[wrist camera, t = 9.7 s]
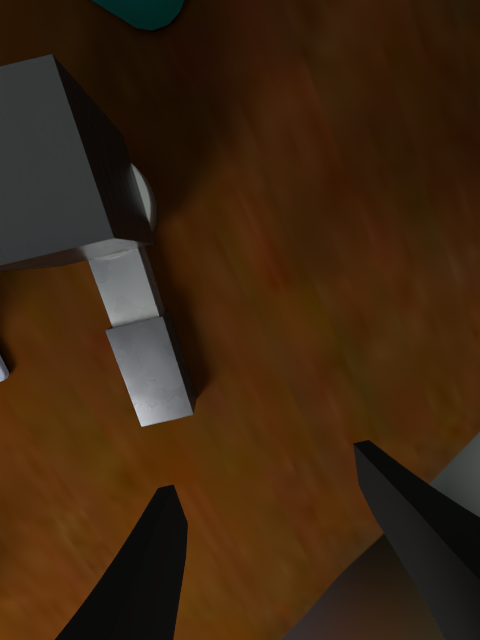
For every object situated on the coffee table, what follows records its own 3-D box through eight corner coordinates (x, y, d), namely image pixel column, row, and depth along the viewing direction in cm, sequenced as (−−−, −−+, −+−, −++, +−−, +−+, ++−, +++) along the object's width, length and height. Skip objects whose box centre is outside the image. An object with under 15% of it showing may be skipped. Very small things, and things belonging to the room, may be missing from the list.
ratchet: (212, 395, 20) (207, 438, 15) (134, 413, 20) (106, 462, 15) (140, 143, 15) (103, 96, 11) (40, 167, 15) (-39, 130, 11)
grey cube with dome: (155, 243, 15) (114, 238, 10) (61, 266, 15) (-36, 273, 10) (122, 135, 14) (52, 53, 8) (19, 160, 14) (-123, 96, 8)
